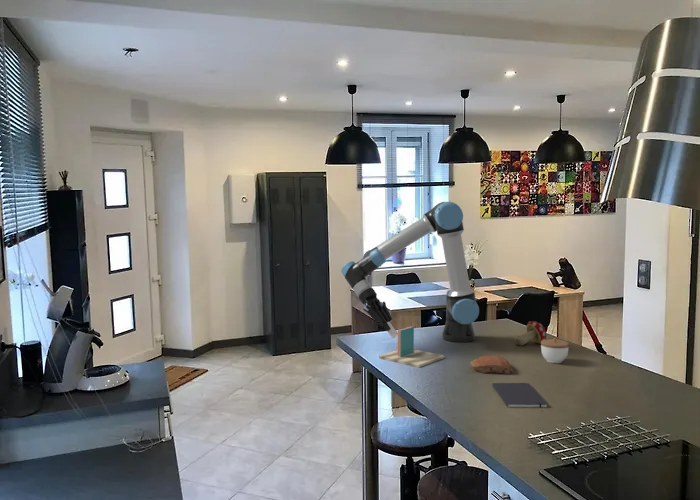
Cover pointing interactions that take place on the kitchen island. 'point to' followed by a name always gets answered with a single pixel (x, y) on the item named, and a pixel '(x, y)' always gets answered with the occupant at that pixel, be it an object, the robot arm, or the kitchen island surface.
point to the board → (412, 358)
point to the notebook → (519, 395)
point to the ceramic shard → (491, 364)
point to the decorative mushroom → (532, 333)
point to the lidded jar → (554, 350)
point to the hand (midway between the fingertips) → (395, 335)
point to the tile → (405, 341)
